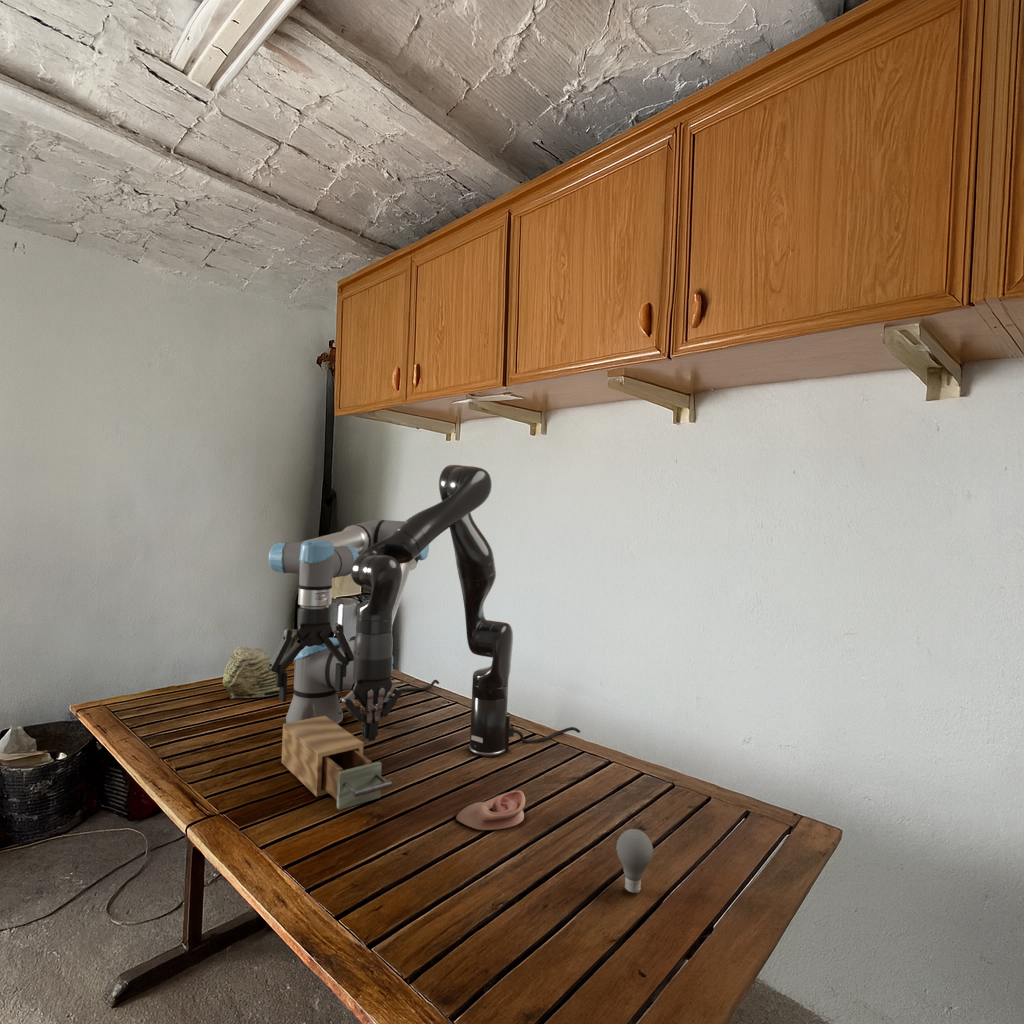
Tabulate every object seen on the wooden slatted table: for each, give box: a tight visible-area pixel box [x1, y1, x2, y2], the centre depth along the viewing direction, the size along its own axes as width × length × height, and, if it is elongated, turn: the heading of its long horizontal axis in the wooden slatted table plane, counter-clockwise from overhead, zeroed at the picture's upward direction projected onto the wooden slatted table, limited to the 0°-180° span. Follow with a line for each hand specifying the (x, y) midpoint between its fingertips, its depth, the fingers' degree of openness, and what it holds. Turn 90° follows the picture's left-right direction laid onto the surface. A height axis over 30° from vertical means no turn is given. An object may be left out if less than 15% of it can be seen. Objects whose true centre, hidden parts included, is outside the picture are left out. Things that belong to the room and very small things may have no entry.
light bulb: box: [615, 828, 654, 894], centre depth 106 cm, size 6×6×10 cm
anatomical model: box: [455, 789, 526, 831], centre depth 128 cm, size 13×4×12 cm
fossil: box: [222, 646, 279, 699], centre depth 198 cm, size 9×18×15 cm, turn 132°
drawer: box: [321, 749, 393, 811], centre depth 135 cm, size 25×9×7 cm, turn 40°
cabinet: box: [281, 716, 364, 798], centre depth 145 cm, size 21×10×9 cm, turn 40°
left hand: (311, 695), depth 150 cm, fingers open, 13 cm apart
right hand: (369, 739), depth 127 cm, fingers closed
